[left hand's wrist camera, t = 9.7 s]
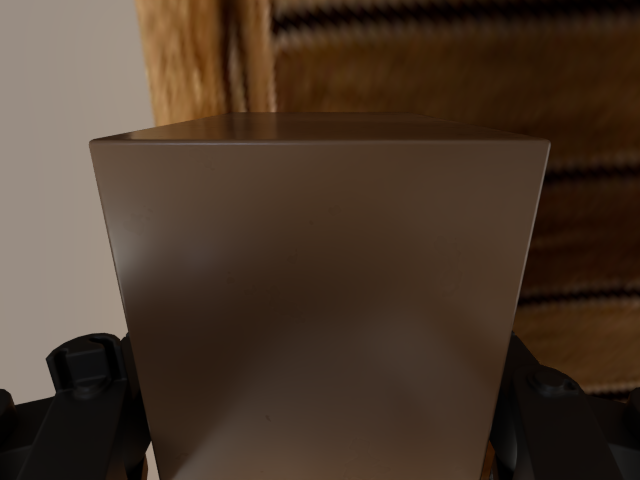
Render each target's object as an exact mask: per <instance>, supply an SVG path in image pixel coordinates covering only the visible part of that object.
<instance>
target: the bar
mask: <svg viewBox="0 0 640 480" xmlns="http://www.w3.org/2000/svg"><path fill="white" fill-rule="evenodd" d="M550 147H551V142H550V141H549V140H547V139H544V138H538V137H533V136H528V135H523V134H518V133H512V132H507V131H502V130H497V129H492V128H486V127H481V126H476V125H471V124H466V123H460V122H455V121H450V120H445V119H440V118H434V117H429V116H424V115H419V114H414V113H408V112H232V113H227V114H222V115H217V116H211V117H206V118H201V119H196V120H191V121H185V122H180V123H175V124H170V125H165V126H159V127H154V128H149V129H144V130H139V131H134V132H128V133H123V134H118V135H113V136H108V137H102V138H97V139H93V140H91V141H90V142H89V148H90V153H91V157H92V162H93V167H94V172H95V176H96V181H97V186H98V190H99V195H100V199H101V205H102V209H103V214H104V219H105V223H106V228H107V233H108V238H109V243H110V247H111V252H112V257H113V261H114V266H115V271H116V275H117V280H118V285H119V290H120V294H121V299H122V304H123V309H124V313H125V318H126V323H127V328H128V332H129V337H130V342H131V347H132V351H133V356H134V361H135V365H136V370H137V375H138V380H139V384H140V389H141V394H142V399H143V403H144V408H145V413H146V418H147V422H148V427H149V432H150V436H151V441H152V446H153V451H154V455H155V460H156V465H157V470H158V474H159V479H160V480H481V475H482V470H483V465H484V461H485V456H486V451H487V446H488V442H489V437H490V432H491V427H492V423H493V418H494V413H495V408H496V404H497V399H498V394H499V389H500V384H501V380H502V375H503V370H504V365H505V361H506V356H507V351H508V346H509V342H510V337H511V332H512V327H513V323H514V318H515V313H516V308H517V304H518V299H519V294H520V289H521V285H522V280H523V275H524V270H525V266H526V261H527V256H528V251H529V247H530V242H531V237H532V232H533V228H534V223H535V218H536V213H537V209H538V204H539V199H540V194H541V190H542V185H543V180H544V175H545V171H546V166H547V161H548V156H549V152H550Z"/></svg>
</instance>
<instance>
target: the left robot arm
mask: <svg viewBox="0 0 640 480" xmlns="http://www.w3.org/2000/svg"><path fill="white" fill-rule="evenodd" d="M46 361H47V365H48V368H49V371H50V374H51V377H52V381H53V384H54V387H55V390H56V394H55V396H53V397H50V398H46V399H41V400H36V401H32V402H28V403H23V404H18V405H14V402H13V399H12V396H11V394H10V393H9V392H7V391H6V390H5V389H0V480H147V474H148V464H147V458H146V454H145V453H146V451H147V448H148V446H149V444H150V442H151V436H150V432H149V427H148V422H147V418H146V413H145V408H144V403H143V399H142V394H141V389H140V384H139V380H138V375H137V370H136V365H135V361H134V356H133V351H132V347H131V342H130V337H129V332H128V333H127V334H126V337H124V338H123V339H122V340H121V341H120V339H119V338H118V337H116V336H115V335H112V334H108V333H94V334H88V335H84V336H80V337H77V338H75V339H72V340H70V341H67V342H65V343H63V344H62V345H60V346H59V347H57V348H56V349H54V350H53V351H52V352H51V353H50V354H49V355H48V357H47V358H46ZM489 440H490V442H491V444H492V446H493V448H494V450H495V454H494V458H493V463H492V467H491V472H490V476H489V480H640V387H638V388H635V389H634V390H633V391H631V392H630V395H629V398H628V400H627V403H621V402H616V401H612V400H607V399H603V398H598V397H593V396H590V395H586V394H585V393H584V391H583V390H582V389H581V387H580V386H579V385H578V383H577V382H575V381H574V380H573V379H571V378H570V377H569V376H568V375H566V374H564V373H562V372H560V371H558V370H556V369H554V368H550V367H547V366H543V365H540V364H539V362H538V361H537V360H536V359H535V357H534V356H533V355H532V354H531V353H530V351H529V350H528V349H527V348H526V346H525V345H524V344H523V343H522V342H521V340H520V339H519V338H518V337H517V336H515V333H514V332H513V331H512V332H511V337H510V342H509V346H508V351H507V356H506V361H505V365H504V370H503V375H502V380H501V384H500V389H499V394H498V399H497V404H496V408H495V413H494V418H493V423H492V427H491V432H490V437H489Z"/></svg>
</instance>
